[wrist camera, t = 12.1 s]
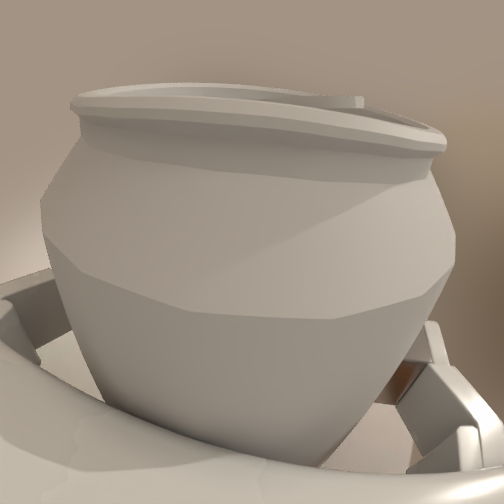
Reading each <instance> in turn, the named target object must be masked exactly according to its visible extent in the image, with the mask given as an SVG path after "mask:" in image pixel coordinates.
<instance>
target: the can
mask: <svg viewBox="0 0 504 504" xmlns="http://www.w3.org/2000/svg"><path fill="white" fill-rule="evenodd" d="M70 109H71V110H72V111H73V112H74V113H75V114H77V115H78V116H79V117H80V128H81V137H80V138H79V140H78V141H77V143H76V144H75V146H74V147H73V148H72V150H71V151H70V153H69V155H68V156H67V158H66V159H65V161H64V162H63V164H62V165H61V167H60V168H59V170H58V172H57V173H56V175H55V176H54V178H53V180H52V181H51V183H50V184H49V186H48V188H47V190H46V191H45V193H44V195H43V197H42V198H41V200H40V203H41V220H42V231H43V237H44V240H45V245H46V249H47V253H48V256H49V260H50V264H51V267H52V271H53V274H54V277H55V281H56V284H57V287H58V290H59V293H60V296H61V299H62V302H63V305H64V308H65V311H66V314H67V317H68V319H69V322H70V325H71V327H72V330H73V332H74V335H75V337H76V340H77V342H78V345H79V347H80V350H81V352H82V354H83V357H84V359H85V361H86V363H87V366H88V368H89V370H90V372H91V374H92V376H93V379H94V381H95V383H96V385H97V387H98V389H99V391H100V393H101V395H102V397H103V399H104V401H105V403H106V404H109V405H111V406H113V407H115V408H117V409H119V410H121V411H124V412H126V413H128V414H130V415H133V416H135V417H137V418H140V419H142V420H144V421H147V422H149V423H152V424H154V425H157V426H159V427H162V428H165V429H167V430H170V431H173V432H175V433H178V434H181V435H184V436H187V437H190V438H193V439H196V440H199V441H202V442H205V443H208V444H212V445H215V446H218V447H222V448H225V449H229V450H233V451H237V452H240V453H244V454H248V455H253V456H257V457H261V458H266V459H270V460H275V461H280V462H285V463H291V464H297V465H303V466H309V467H316V468H319V467H320V466H321V465H322V464H323V463H324V462H325V461H326V460H327V459H328V458H329V457H330V455H331V454H332V453H333V452H334V451H335V450H336V449H337V447H338V446H339V445H340V444H341V443H342V442H343V440H344V439H345V438H346V437H347V436H348V435H349V433H350V432H351V431H352V430H353V428H354V427H355V426H356V425H357V423H358V422H359V421H360V420H361V418H362V417H363V416H364V414H365V413H366V412H367V411H368V409H369V408H370V407H371V405H372V404H373V402H374V401H375V400H376V398H377V397H378V396H379V394H380V393H381V391H382V390H383V389H384V387H385V386H386V384H387V383H388V381H389V380H390V378H391V377H392V376H393V374H394V373H395V371H396V369H397V368H398V366H399V365H400V363H401V362H402V360H403V359H404V357H405V355H406V354H407V352H408V351H409V349H410V347H411V346H412V344H413V342H414V341H415V339H416V337H417V336H418V334H419V332H420V330H421V329H422V327H423V325H424V323H425V322H426V320H427V318H428V316H429V314H430V313H431V311H432V309H433V307H434V305H435V303H436V301H437V299H438V297H439V295H440V293H441V291H442V289H443V287H444V285H445V283H446V281H447V279H448V277H449V275H450V273H451V270H452V268H453V266H454V264H455V232H454V229H453V226H452V224H451V221H450V218H449V215H448V212H447V209H446V207H445V204H444V202H443V199H442V197H441V194H440V192H439V189H438V187H437V185H436V182H435V180H434V178H433V175H432V173H431V171H430V166H431V163H432V159H433V158H434V157H435V156H438V155H440V154H442V153H443V152H445V150H446V146H447V140H446V138H445V136H444V135H443V133H442V132H440V131H438V130H436V129H434V128H432V127H430V126H428V125H425V124H423V123H420V122H417V121H415V120H412V119H409V118H406V117H404V116H400V115H397V114H394V113H390V112H388V111H384V110H381V109H378V108H374V107H370V106H366V105H364V97H358V96H322V95H316V94H311V93H305V92H299V91H292V90H285V89H278V88H268V87H260V86H249V85H236V84H235V85H234V84H217V83H162V84H144V85H132V86H122V87H113V88H106V89H100V90H95V91H89V92H85V93H82V94H79V95H76V96H75V98H74V99H73V100H72V101H71V102H70Z"/></svg>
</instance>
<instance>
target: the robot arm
mask: <svg viewBox="0 0 504 504" xmlns="http://www.w3.org/2000/svg"><path fill="white" fill-rule="evenodd" d="M71 330H72V327H71V325H70V322H69V319H68V317H67V314H66V311H65V308H64V305H63V302H62V299H61V296H60V293H59V290H58V287H57V284H56V281H55V277H54V274H53V271H52V269H50V268H47V269H44V270H41V271H38V272H35V273H32V274H29V275H26V276H23V277H20V278H17V279H14V280H11V281H8V282H6V283H3V284H0V504H504V426H503V423H502V421H501V420H500V419H499V418H498V417H497V415H496V414H495V413H494V412H493V410H492V409H491V408H490V407H489V406H488V405H487V403H486V402H485V401H484V400H483V398H482V397H481V396H480V395H479V394H478V393H477V391H476V390H475V389H474V388H473V387H472V386H471V385H470V383H469V382H468V381H467V380H466V379H465V378H464V377H463V376H462V374H461V373H460V372H459V371H458V370H457V369H456V368H455V366H450V364H449V360H448V356H447V352H446V349H445V345H444V341H443V338H442V334H441V331H440V327H439V324H438V323H437V322H436V321H430V320H426V322H425V323H424V325H423V327H422V329H421V330H420V332H419V334H418V336H417V337H416V339H415V341H414V342H413V344H412V346H411V347H410V349H409V351H408V352H407V354H406V355H405V357H404V359H403V360H402V362H401V363H400V365H399V366H398V368H397V369H396V371H395V373H394V374H393V376H392V377H391V378H390V380H389V381H388V383H387V384H386V386H385V387H384V389H383V390H382V391H381V393H380V394H379V396H378V397H377V398H376V400H375V401H374V402H375V403H382V404H389V405H396V406H395V407H396V409H397V411H398V412H399V414H400V416H401V418H402V420H403V422H404V423H405V425H406V427H407V429H408V431H409V432H410V434H411V436H412V438H413V440H414V442H415V444H416V445H417V447H418V449H419V451H420V453H421V455H422V457H423V458H421V459H420V460H419V461H417V462H416V463H415V464H413V465H412V466H411V467H409V468H408V469H407V470H406V474H381V473H363V472H350V471H340V470H331V469H323V468H316V467H309V466H303V465H297V464H291V463H285V462H280V461H275V460H270V459H266V458H261V457H257V456H253V455H248V454H244V453H240V452H237V451H233V450H229V449H225V448H222V447H218V446H215V445H212V444H208V443H205V442H202V441H199V440H196V439H193V438H190V437H187V436H184V435H181V434H178V433H175V432H173V431H170V430H167V429H165V428H162V427H159V426H157V425H154V424H152V423H149V422H147V421H144V420H142V419H140V418H137V417H135V416H133V415H130V414H128V413H126V412H124V411H121V410H119V409H117V408H115V407H113V406H111V405H109V404H106V403H104V402H102V401H100V400H98V399H96V398H94V397H92V396H90V395H88V394H87V393H85V392H83V391H81V390H79V389H77V388H75V387H74V386H72V385H70V384H68V383H66V382H65V381H63V380H61V379H59V378H58V377H56V376H54V375H53V374H51V373H49V372H48V371H46V370H44V369H43V368H41V367H40V364H41V360H40V358H39V356H38V354H37V352H36V351H35V350H36V349H38V348H39V347H41V346H43V345H45V344H47V343H49V342H50V341H52V340H54V339H56V338H58V337H60V336H62V335H63V334H65V333H67V332H69V331H71Z"/></svg>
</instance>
